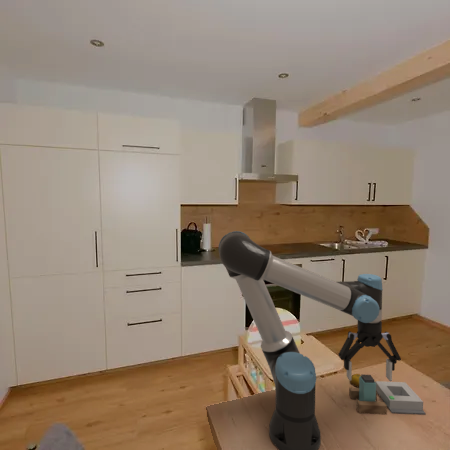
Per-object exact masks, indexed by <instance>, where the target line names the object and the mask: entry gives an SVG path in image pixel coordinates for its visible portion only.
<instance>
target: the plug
mask: <svg viewBox="0 0 450 450" xmlns="http://www.w3.org/2000/svg"><path fill="white" fill-rule="evenodd" d="M360 375H361V376H360V378H359V399H358V401H373V402H377V400H376V383H375V378H374V377H373V375H371V374H363V373H362V374H360Z"/></svg>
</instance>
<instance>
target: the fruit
mask: <svg viewBox="0 0 450 450" xmlns="http://www.w3.org/2000/svg"><path fill="white" fill-rule="evenodd" d="M360 376H361V374H360V373H354V374H352V380H349V382H350V384H351V385H352V386H354V387H355V388H359V378H360Z"/></svg>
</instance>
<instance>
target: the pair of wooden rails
mask: <svg viewBox="0 0 450 450" xmlns="http://www.w3.org/2000/svg"><path fill="white" fill-rule="evenodd" d="M348 389H349V390H348V396H349V398H350V399H351V400H356V411H357V413H358V414H366V415H367V414H369V415H387V412H388V407H387V405H386V404H385V403H384V402H383V401H377V395H378V393H377V391H376V402H373V401H359V388H358V387H349V388H348Z"/></svg>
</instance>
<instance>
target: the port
mask: <svg viewBox="0 0 450 450" xmlns="http://www.w3.org/2000/svg"><path fill="white" fill-rule="evenodd" d="M374 381H375V380H374ZM375 383H376V391H377V395H378V396H379V398H380V399H381V400H382V402H384V403H385V404H386V405H387V410H389V412H390V413H391V414H397V415H398V414H402V415H419V416H420V415H421V416H422V415H425V416H426V414H427V413H426V412H425V411H424V401H423V400H422V399H421V397H420V396H419V395H418V394H417V393H416V392H415V391H414V390H413V389H412V388H411V387H410V385H408V384H407V382H406V381H383V380H382V381H375Z"/></svg>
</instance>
